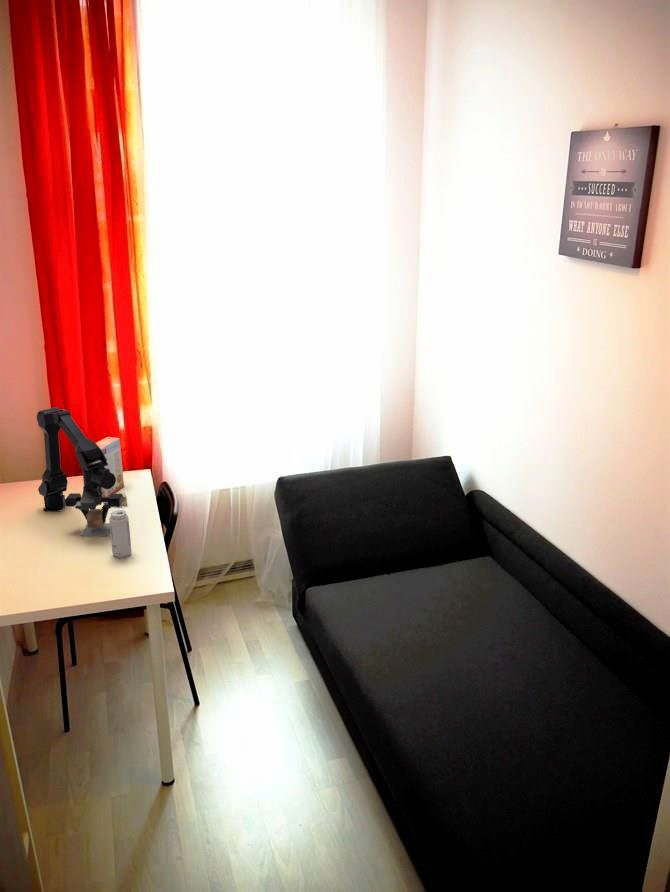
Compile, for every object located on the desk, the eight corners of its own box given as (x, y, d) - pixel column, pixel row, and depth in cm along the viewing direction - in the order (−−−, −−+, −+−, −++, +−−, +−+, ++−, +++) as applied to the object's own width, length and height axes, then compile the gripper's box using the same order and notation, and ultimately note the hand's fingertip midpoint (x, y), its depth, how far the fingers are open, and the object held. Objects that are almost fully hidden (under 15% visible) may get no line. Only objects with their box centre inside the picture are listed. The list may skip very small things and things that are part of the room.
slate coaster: (80, 536, 259) (80, 534, 259) (88, 524, 267) (88, 523, 267) (106, 536, 259) (106, 534, 259) (113, 524, 268) (113, 523, 267)
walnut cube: (87, 527, 260) (86, 514, 259) (91, 521, 265) (90, 508, 263) (102, 527, 260) (100, 514, 259) (105, 521, 265) (104, 508, 263)
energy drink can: (111, 551, 248) (107, 510, 243) (130, 549, 250) (126, 508, 245) (113, 560, 243) (109, 518, 238) (132, 557, 245) (128, 515, 240)
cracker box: (111, 484, 302) (107, 435, 295) (124, 486, 301) (120, 437, 294) (91, 497, 290) (85, 447, 283) (104, 500, 288) (99, 449, 281)
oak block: (116, 507, 282) (115, 498, 280) (115, 503, 285) (114, 494, 284) (127, 506, 283) (126, 496, 282) (126, 502, 287) (125, 492, 285)
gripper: (57, 490, 249) (62, 532, 254) (113, 490, 250) (117, 532, 255) (67, 477, 260) (72, 518, 265) (121, 477, 260) (125, 518, 265)
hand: (96, 522), depth 262 cm, fingers closed on walnut cube, 5 cm apart
